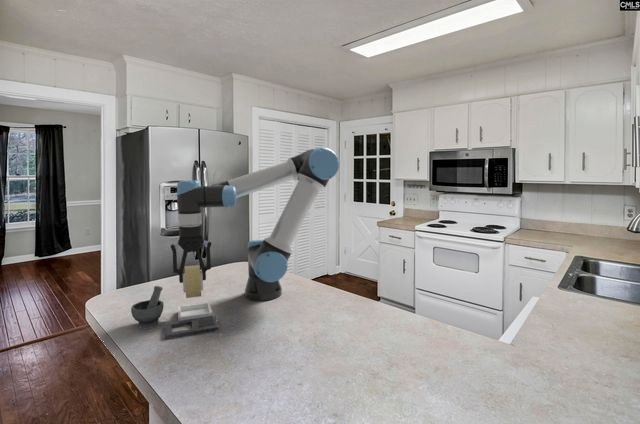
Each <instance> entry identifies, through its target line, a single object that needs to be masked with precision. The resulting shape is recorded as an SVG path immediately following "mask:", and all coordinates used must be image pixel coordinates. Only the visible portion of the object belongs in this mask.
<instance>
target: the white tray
mask: <svg viewBox="0 0 640 424" xmlns="http://www.w3.org/2000/svg"><path fill="white" fill-rule="evenodd" d="M209 316H213V310H212V307H211V303H210V302H209V301H207V302H201V303H194V304H184V305H178V306H177V321H183V320H189V319H196V318H203V317H209Z"/></svg>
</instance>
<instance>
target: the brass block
mask: <svg viewBox="0 0 640 424" xmlns="http://www.w3.org/2000/svg"><path fill="white" fill-rule="evenodd" d="M200 271H201V266H200V264H196V265H184V272H185V285H186V292H185V299H190V298H191V299H192V298H199V297H202V291H201V276H200Z"/></svg>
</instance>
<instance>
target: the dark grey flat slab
mask: <svg viewBox="0 0 640 424" xmlns="http://www.w3.org/2000/svg"><path fill="white" fill-rule="evenodd" d="M186 326H191V328H189V329H188V328H187V329H182V330H178V331H177V330H176V331H173V329H174V328H179V327H186ZM219 330H220V329H219V324H218V321H217V317H216V315H212V316H209V317H203V318H196V319H189V320H183V321H178V320H177V321H172V322H171V321H168V322H165V326H164V340H170V339H175V338H183V337H190V336H195V335H200V334H206V333H212V332H218V331H219Z"/></svg>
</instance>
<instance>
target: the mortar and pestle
mask: <svg viewBox="0 0 640 424" xmlns="http://www.w3.org/2000/svg"><path fill="white" fill-rule="evenodd" d="M163 289H164V288H163V286H162V287H161V286H159V285H155V286H154V287H153V292H152V295H151V298H150V299H148V300H142V301H138V302H137V303H134V304H132V305H131V308H130V313H131V316H132V317H133V319H134V320H135V321H136V322H138V327H139V329H144V330H145V329H150V328H154V327H157V326H158V325H159V324H160V321H159V319H160V318H161V316H162V313H163V312H164V304H165V303H164V301H163V300H161V299H160V296H161V294H162V293H161V292H162V291H163Z"/></svg>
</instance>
